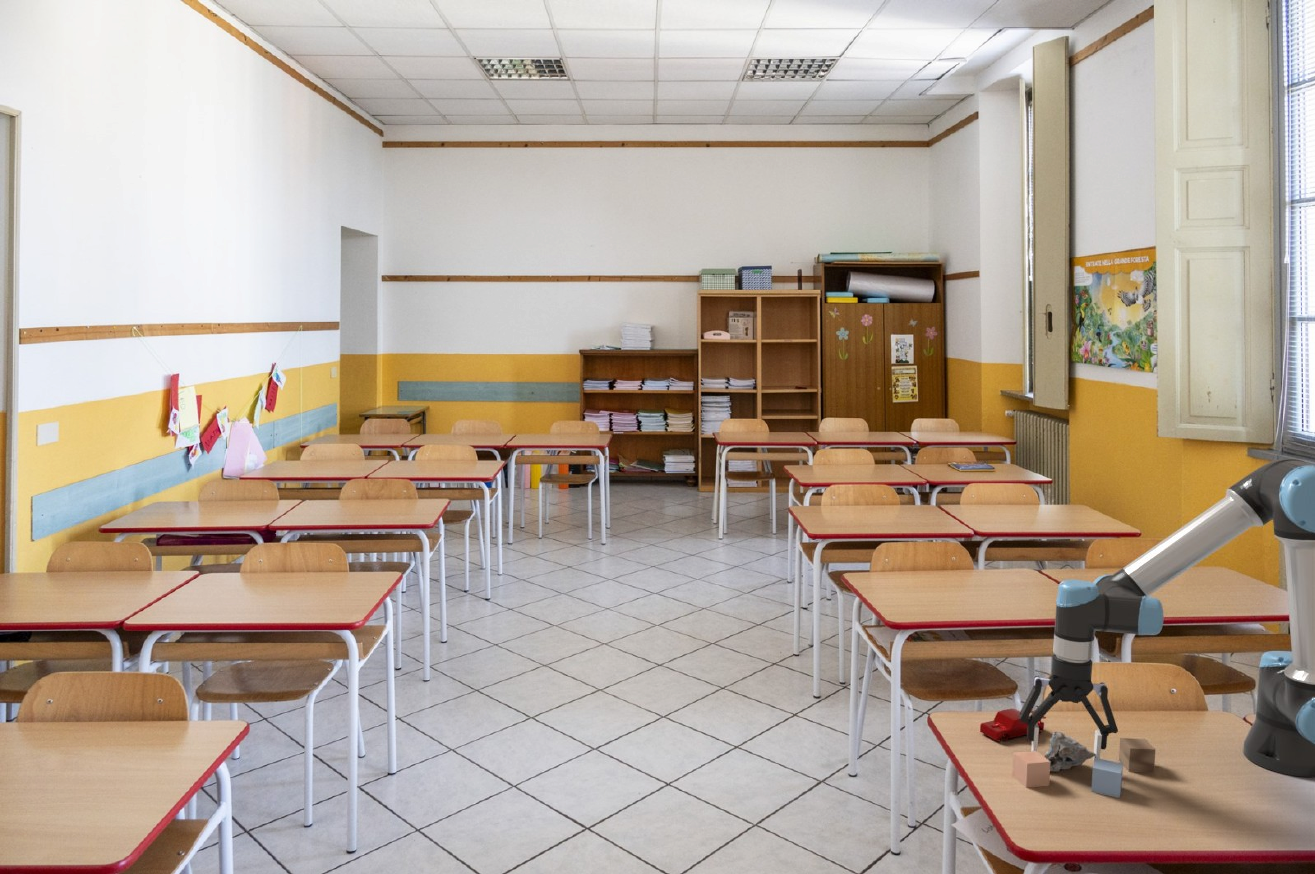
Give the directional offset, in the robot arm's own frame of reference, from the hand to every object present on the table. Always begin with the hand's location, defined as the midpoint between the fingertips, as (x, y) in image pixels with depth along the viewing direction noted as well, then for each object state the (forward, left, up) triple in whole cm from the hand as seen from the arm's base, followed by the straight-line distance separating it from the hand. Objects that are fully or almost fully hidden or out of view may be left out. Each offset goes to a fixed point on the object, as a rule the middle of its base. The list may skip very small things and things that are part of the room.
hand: (1064, 759), depth 199 cm
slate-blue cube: (-6, +8, -2) cm, 11 cm away
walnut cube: (-14, -4, -2) cm, 15 cm away
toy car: (+9, -14, -2) cm, 17 cm away
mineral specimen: (0, +1, -2) cm, 2 cm away
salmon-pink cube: (+8, +8, -2) cm, 12 cm away
